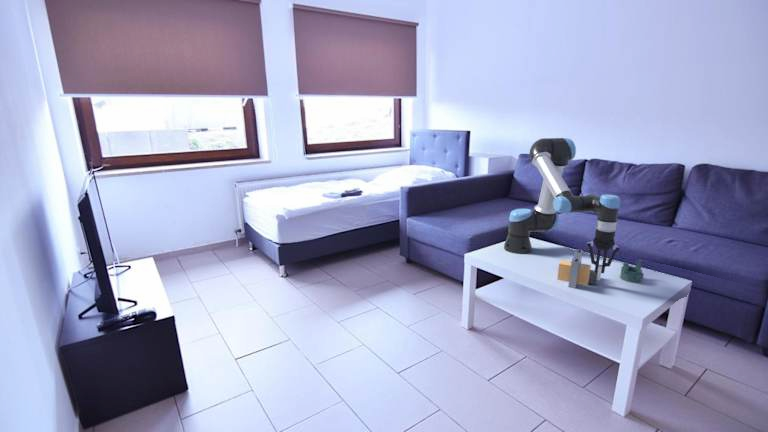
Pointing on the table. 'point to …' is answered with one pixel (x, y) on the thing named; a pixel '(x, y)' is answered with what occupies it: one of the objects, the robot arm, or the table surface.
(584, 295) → the table surface
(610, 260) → the robot arm
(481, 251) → the table surface
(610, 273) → the table surface
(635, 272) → the teal lumpy piece
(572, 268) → the housing
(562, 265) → the plug
